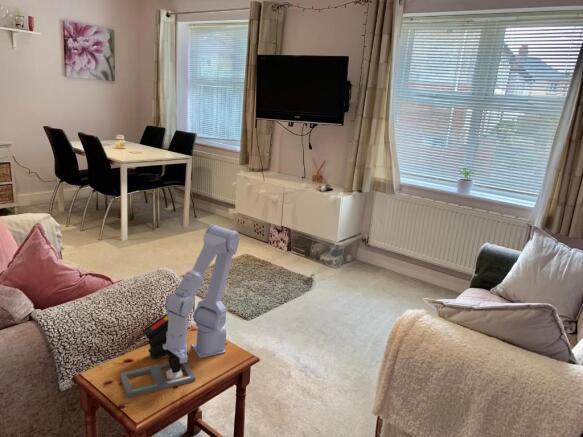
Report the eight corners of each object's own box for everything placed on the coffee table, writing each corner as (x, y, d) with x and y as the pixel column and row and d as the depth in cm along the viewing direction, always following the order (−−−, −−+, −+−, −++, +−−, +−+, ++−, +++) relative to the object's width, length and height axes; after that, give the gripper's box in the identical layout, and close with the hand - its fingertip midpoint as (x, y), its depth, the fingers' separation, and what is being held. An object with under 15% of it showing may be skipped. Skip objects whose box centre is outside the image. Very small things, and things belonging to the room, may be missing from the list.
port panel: (184, 362, 141) (185, 358, 141) (195, 380, 133) (195, 377, 133) (120, 376, 130) (120, 372, 130) (127, 397, 123) (127, 394, 122)
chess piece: (164, 371, 136) (166, 343, 133) (180, 368, 138) (183, 341, 135) (167, 381, 131) (169, 352, 129) (183, 378, 133) (186, 350, 131)
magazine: (192, 343, 149) (178, 313, 140) (159, 369, 142) (142, 339, 134) (187, 338, 151) (172, 308, 143) (154, 363, 145) (137, 333, 136)
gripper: (157, 321, 134) (155, 358, 138) (171, 347, 122) (168, 387, 126) (179, 317, 137) (177, 354, 141) (195, 342, 126) (192, 381, 130)
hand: (174, 369), depth 134 cm, fingers closed on chess piece
